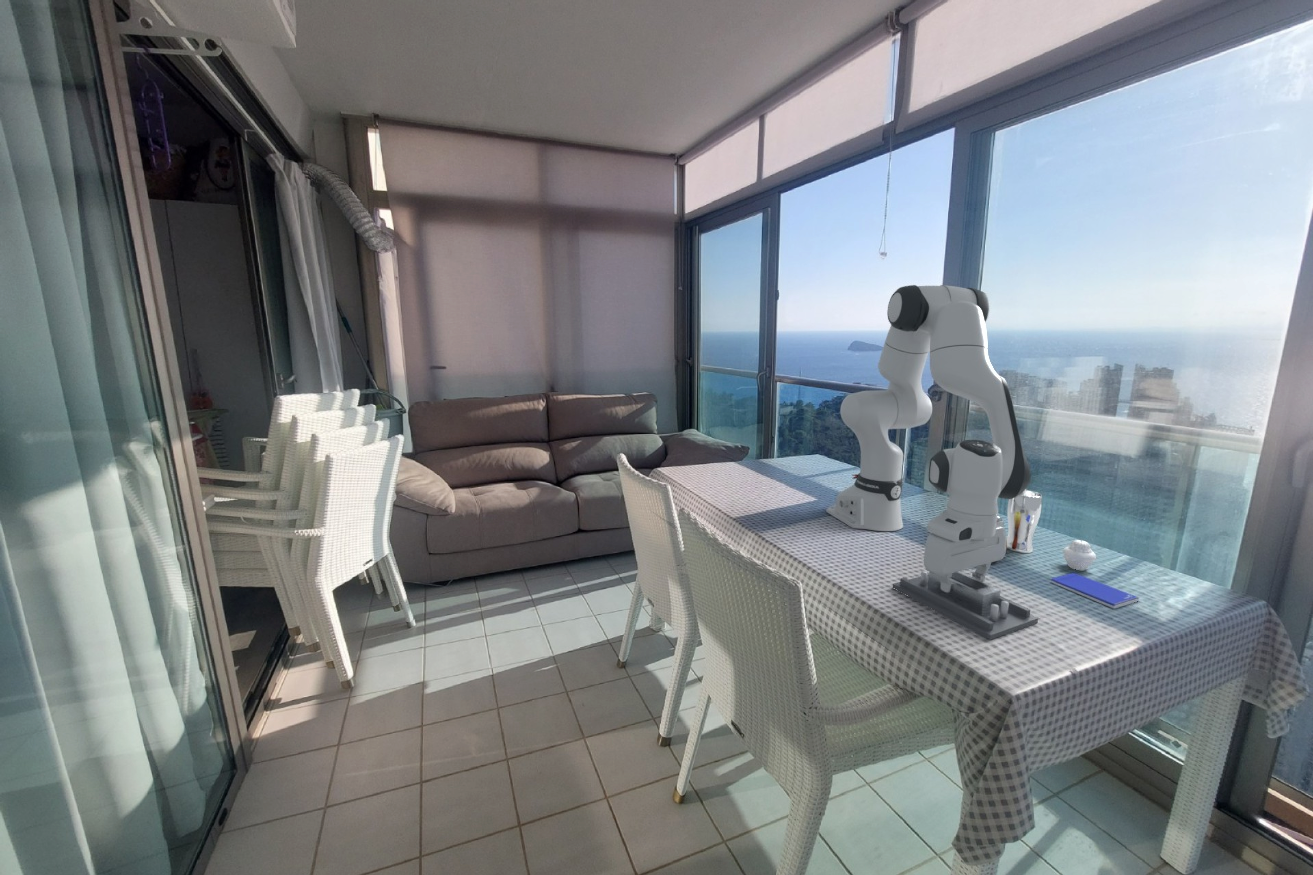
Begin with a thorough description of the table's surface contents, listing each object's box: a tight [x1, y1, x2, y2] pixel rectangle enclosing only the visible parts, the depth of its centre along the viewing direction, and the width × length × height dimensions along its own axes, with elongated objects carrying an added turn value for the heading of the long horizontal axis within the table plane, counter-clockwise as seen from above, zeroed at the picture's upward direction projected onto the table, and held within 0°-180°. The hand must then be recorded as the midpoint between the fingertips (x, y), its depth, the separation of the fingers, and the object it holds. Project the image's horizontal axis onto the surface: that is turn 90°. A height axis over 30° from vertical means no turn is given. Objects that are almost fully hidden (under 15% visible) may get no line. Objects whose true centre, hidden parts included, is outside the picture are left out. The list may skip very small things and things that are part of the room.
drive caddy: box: [927, 571, 1002, 616], centre depth 109 cm, size 12×5×5 cm, turn 25°
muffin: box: [1062, 539, 1097, 572], centre depth 126 cm, size 6×6×7 cm
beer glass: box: [1006, 489, 1043, 554], centre depth 136 cm, size 7×7×15 cm
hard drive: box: [1050, 572, 1140, 609], centre depth 115 cm, size 2×8×12 cm
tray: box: [892, 570, 1039, 641], centre depth 109 cm, size 22×14×4 cm, turn 25°
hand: (962, 585), depth 109 cm, fingers open, 8 cm apart
